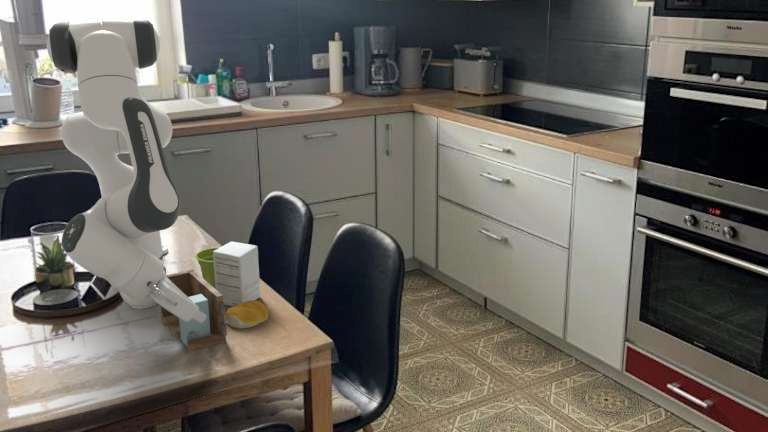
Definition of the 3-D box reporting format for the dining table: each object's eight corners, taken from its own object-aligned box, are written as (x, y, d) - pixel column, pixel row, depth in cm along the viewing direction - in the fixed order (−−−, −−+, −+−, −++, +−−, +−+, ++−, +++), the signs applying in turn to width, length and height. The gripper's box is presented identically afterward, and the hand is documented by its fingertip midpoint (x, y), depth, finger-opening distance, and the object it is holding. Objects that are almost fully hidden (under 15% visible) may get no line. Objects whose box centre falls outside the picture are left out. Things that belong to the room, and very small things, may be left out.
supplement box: (234, 291, 180) (231, 240, 175) (261, 297, 177) (258, 245, 173) (215, 303, 173) (211, 250, 169) (242, 309, 170) (239, 256, 166)
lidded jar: (154, 289, 181) (150, 252, 178) (178, 303, 174) (174, 264, 171) (110, 303, 174) (106, 264, 171) (134, 317, 167) (129, 277, 164)
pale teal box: (181, 340, 157) (177, 299, 154) (204, 333, 159) (201, 293, 156) (189, 349, 153) (185, 307, 150) (213, 342, 155) (210, 301, 153)
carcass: (161, 320, 165) (157, 277, 162) (196, 311, 169) (192, 269, 166) (191, 353, 151) (187, 306, 148) (228, 342, 155) (225, 297, 152)
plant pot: (229, 278, 187) (227, 244, 185) (245, 290, 180) (243, 255, 177) (192, 286, 183) (189, 252, 180) (207, 299, 175) (204, 264, 172)
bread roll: (275, 317, 167) (274, 300, 166) (245, 333, 160) (244, 315, 159) (248, 308, 171) (247, 291, 170) (218, 322, 165) (216, 305, 163)
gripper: (169, 279, 139) (224, 315, 147) (135, 246, 155) (186, 281, 163) (147, 308, 138) (204, 343, 146) (115, 272, 154) (167, 305, 162)
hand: (194, 310), depth 154 cm, fingers open, 8 cm apart
